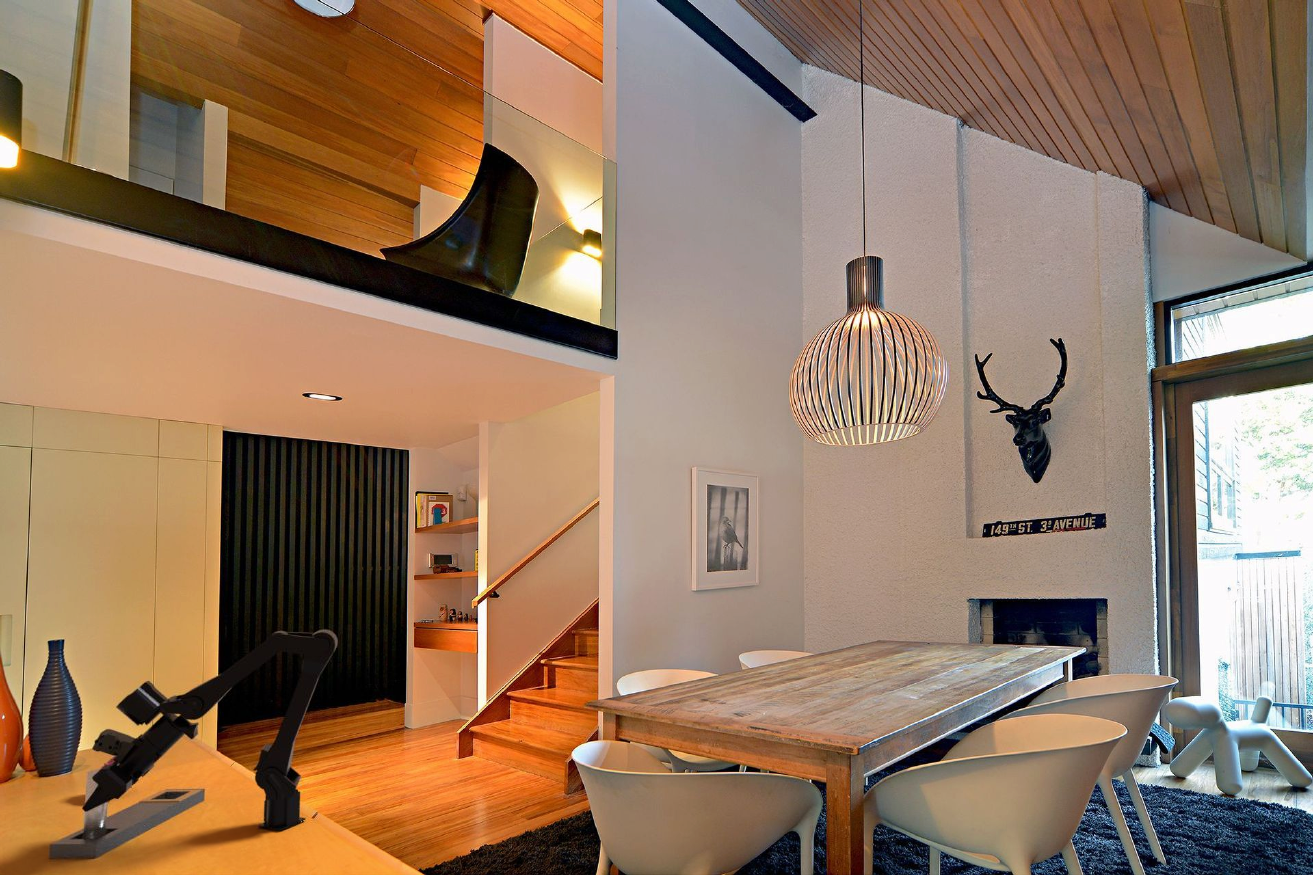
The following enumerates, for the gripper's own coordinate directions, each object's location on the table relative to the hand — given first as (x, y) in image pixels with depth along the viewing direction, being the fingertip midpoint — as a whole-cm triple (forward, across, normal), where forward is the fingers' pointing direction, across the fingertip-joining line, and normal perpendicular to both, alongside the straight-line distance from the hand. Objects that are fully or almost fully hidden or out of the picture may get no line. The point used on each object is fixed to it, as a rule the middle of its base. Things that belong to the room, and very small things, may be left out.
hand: (87, 806), depth 153 cm
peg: (+4, 0, +6) cm, 8 cm away
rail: (+2, -11, +9) cm, 14 cm away
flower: (+10, -36, +1) cm, 38 cm away
